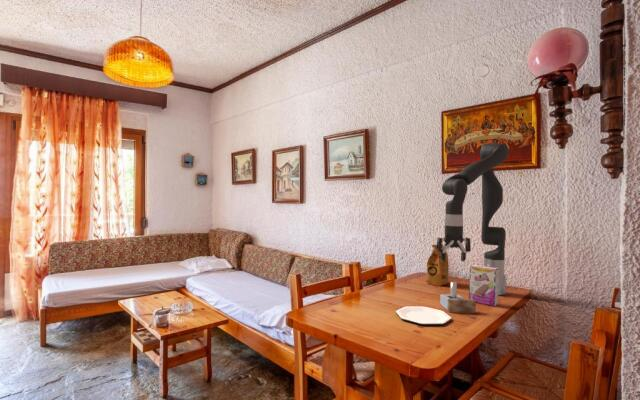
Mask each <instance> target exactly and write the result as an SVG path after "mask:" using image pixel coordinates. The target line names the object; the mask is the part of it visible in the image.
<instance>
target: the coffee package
mask: <svg viewBox="0 0 640 400" xmlns="http://www.w3.org/2000/svg"><path fill="white" fill-rule="evenodd" d="M443 246H444V244H443V243H442V247H441V249H442V248H443ZM431 247H432V248H433V249H432V252H431V254H430V255H429V257H428V259H427V261H426V276H425V277H426V284H428V285H431V286H435V287H442V286H443V285H444V286H445V285H447V284H448V283H449V269H450V268H449V255H448V252H447V251H446V252H445V253H446V258H445V261H442V260H441V252H439V251H437V244H432V245H431Z"/></svg>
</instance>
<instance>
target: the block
mask: <svg viewBox="0 0 640 400" xmlns="http://www.w3.org/2000/svg"><path fill="white" fill-rule="evenodd" d="M439 296H440V297H439V299H440V300H439V302H440V303H439V304H440V305H441V306H442V307H443V309H445V310H446V311H448V299H450V293H448V294H443V293H442V294H440V295H439ZM457 299H465V297H463V296H461V295H460V294H457Z"/></svg>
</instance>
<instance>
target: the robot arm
mask: <svg viewBox="0 0 640 400" xmlns="http://www.w3.org/2000/svg"><path fill="white" fill-rule="evenodd" d="M509 151H510V150H509V147H508V146H507V144H505V143H501V142H499V143H498V142H497V143H495V142H490V143H489V142H488V143H487V142H486V143H483V145H481V148H480V151H479V159H480V160H478V161H474V162H472V163H471V164H469V165H467V166H466V167H464V168H463V169H461V171H460V172H458V173H455V174H453V175H452V176H450V177H448V178H447V179H445V180H444V182H443V183H442V185H441V191H442V192H443V194H445V195H447V196H452V197H453V198H452V199H451V200H448V201H446V204H445V216H444V237H439V236H438V237H437V238H436V245H437V251H439V252H441V260H442V261H445V258H446V253H445V252H447V250H449V249H450V248H451V249H453V248H455V249H459V250H460V251H461V252H460V261H461V262H464V263H465V261H467V260H466V259H467V253H469V252H471V251H472V249H471V248H472V247H471V238H470V237H463V236H464V216H463V212H464V211H463V209H464V206H463V205H464V203H465V201H466V200H465V199H466V196H467V192H468V186H469V185H471V184H472V183H474V182H475V181H476V180H477V179H478V178H480V177H481V203H482V204H481V210H482V211H481V212H482V216H481V217H482V218H481V232H480V233H481V242H482V244H483V245H488V246H497V247H496V248H495V249H492V250H489V251H485V252H484V254H483V266H485V267H492V268H498V269H499V277H498V296H502V295H506V293H507V275H506V274H505V262H506V261H505V258H506V257H505V254H506V253H505V252H506V251H505V248H506V236H507V234H506V233H507V232H506V229H505V228H504V227H500V226H490V225H489V224H490V222H491V220H492V219H493V216H494V215H495V214H496V213H497V211H498V210H499V209H500V208H501V206H502V205H503V202H504V200H503V199H504V189H503V186H502V183H500V181H499V179H498V177H497V176H496V174H495V172H494V168H495V167H498V165H500V164H502V163H504V162H505V161H506V160H507V159H508V157H509ZM463 242H464V243H465V244H464V245H463ZM443 243H444V244H443ZM442 244H443V248H442V249H441V247H442Z"/></svg>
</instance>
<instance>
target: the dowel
mask: <svg viewBox="0 0 640 400" xmlns="http://www.w3.org/2000/svg"><path fill="white" fill-rule="evenodd" d="M449 285H450V286H449V288H450V289H449V290H450V291H449V294H450V299H457V295H458V292H457V291H458V283H457V282H456V281H451V282H450V284H449Z"/></svg>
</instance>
